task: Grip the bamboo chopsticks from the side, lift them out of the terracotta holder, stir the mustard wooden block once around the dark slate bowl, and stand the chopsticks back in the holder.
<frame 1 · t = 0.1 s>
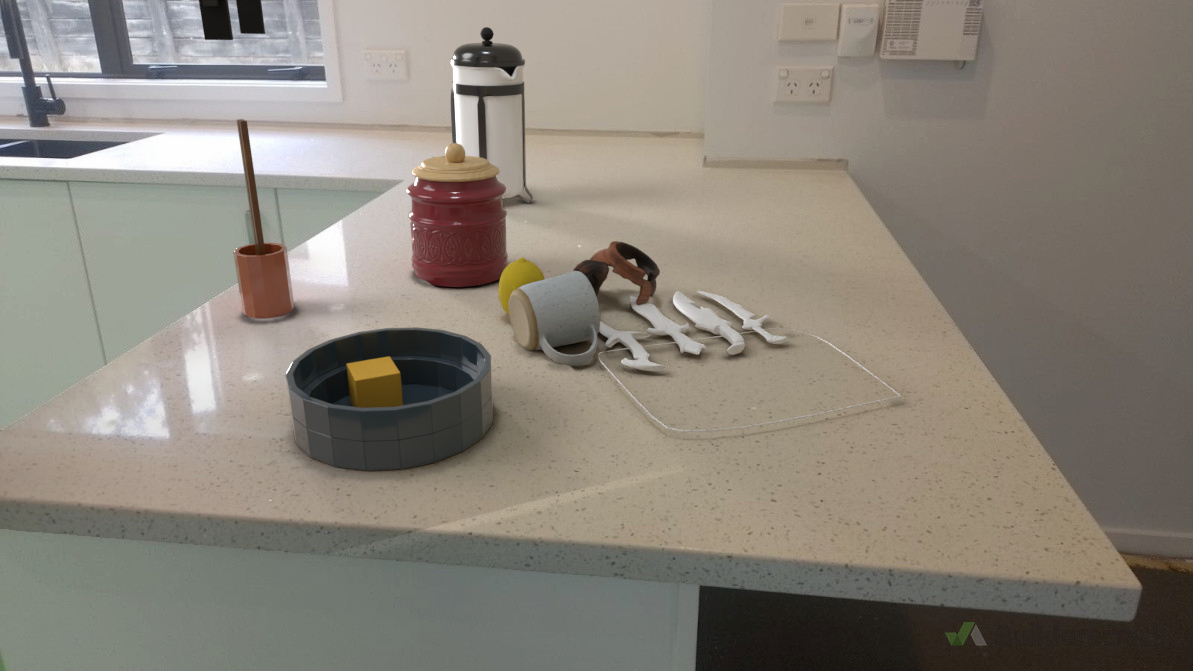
hand: (237, 36, 96), 31 cm above the worktop, tool pointing down, fingers open, 13 cm apart
block: (376, 407, 77), point 1 cm above the worktop, touching bowl
broken clay pot: (610, 302, 105), on the worktop, touching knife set
chopsticks: (268, 309, 100), point 1 cm above the worktop, touching holder
bowl: (396, 425, 75), on the worktop
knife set: (710, 352, 91), on the worktop, touching ceramic mug, broken clay pot
lemon: (523, 324, 98), on the worktop
holder: (269, 314, 100), on the worktop
ceramic mug: (562, 349, 91), on the worktop, touching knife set
coffee press: (486, 200, 155), on the worktop
kitchen canister: (461, 274, 115), on the worktop
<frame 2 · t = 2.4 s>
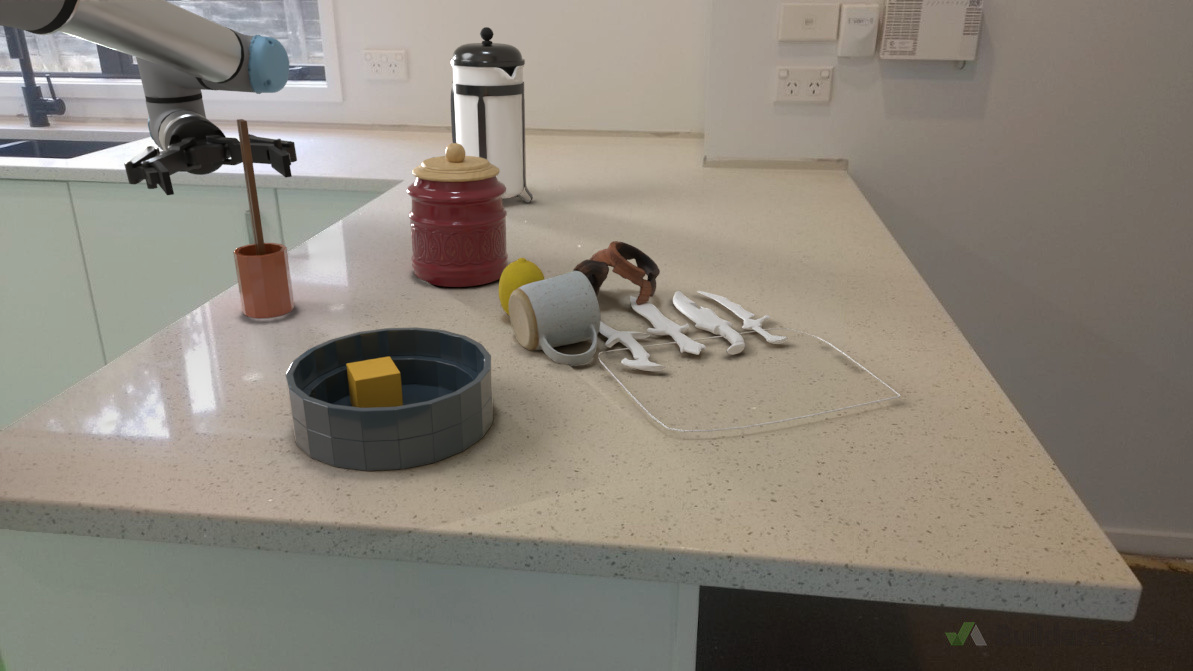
hand: (229, 174, 101), 15 cm above the worktop, tool horizontal, fingers open, 13 cm apart
nothing on the worktop moved.
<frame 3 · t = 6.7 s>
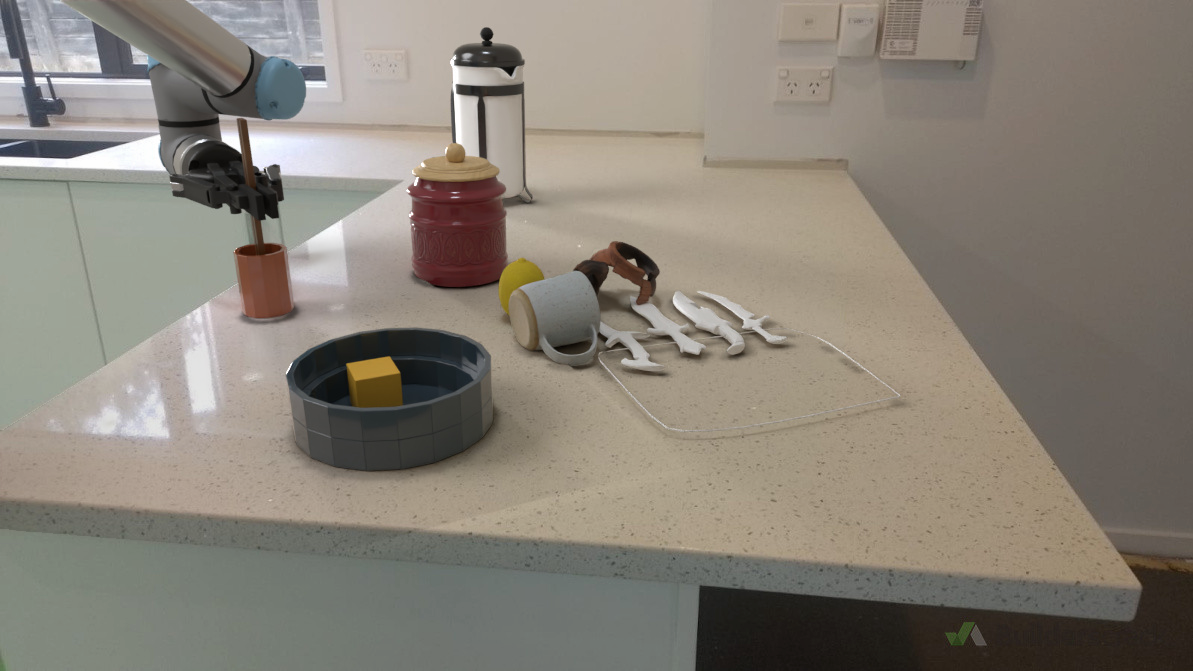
hand: (267, 207, 90), 14 cm above the worktop, tool horizontal, fingers closed on chopsticks, 1 cm apart
chopsticks: (268, 308, 99), point 1 cm above the worktop, touching gripper
everything else where it was.
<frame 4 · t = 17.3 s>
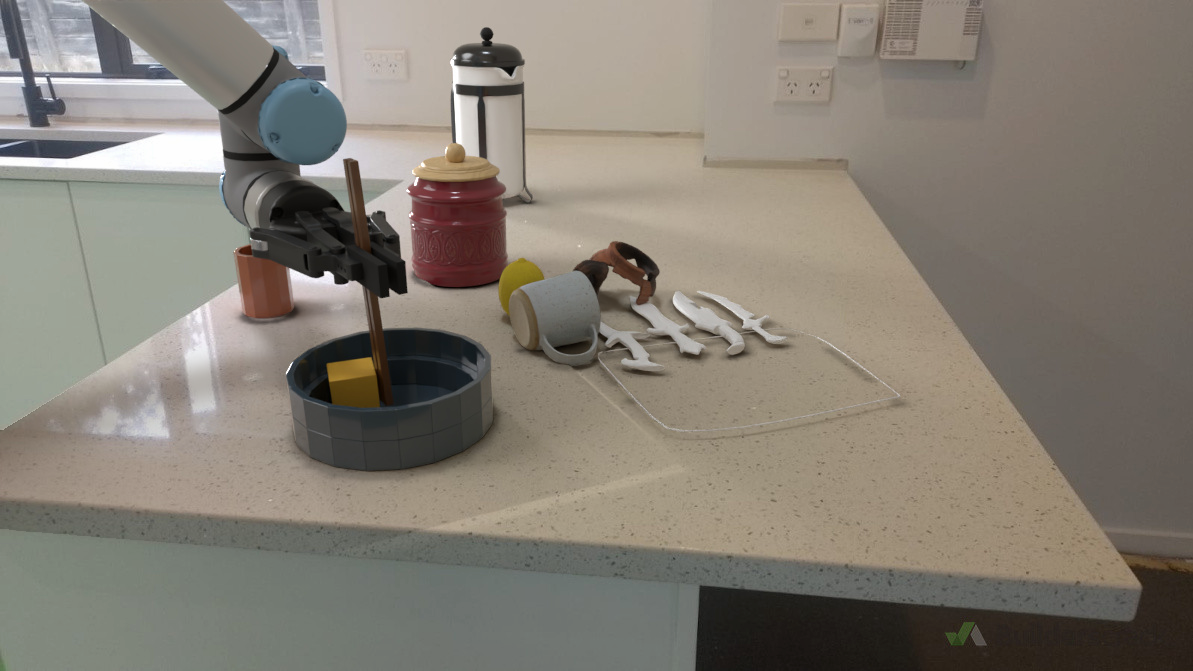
hand: (392, 279, 66), 15 cm above the worktop, tool horizontal, fingers closed on chopsticks, 1 cm apart
block: (356, 408, 76), point 1 cm above the worktop, touching bowl, chopsticks
chopsticks: (386, 402, 76), point 2 cm above the worktop, touching block, gripper
everything else where it was.
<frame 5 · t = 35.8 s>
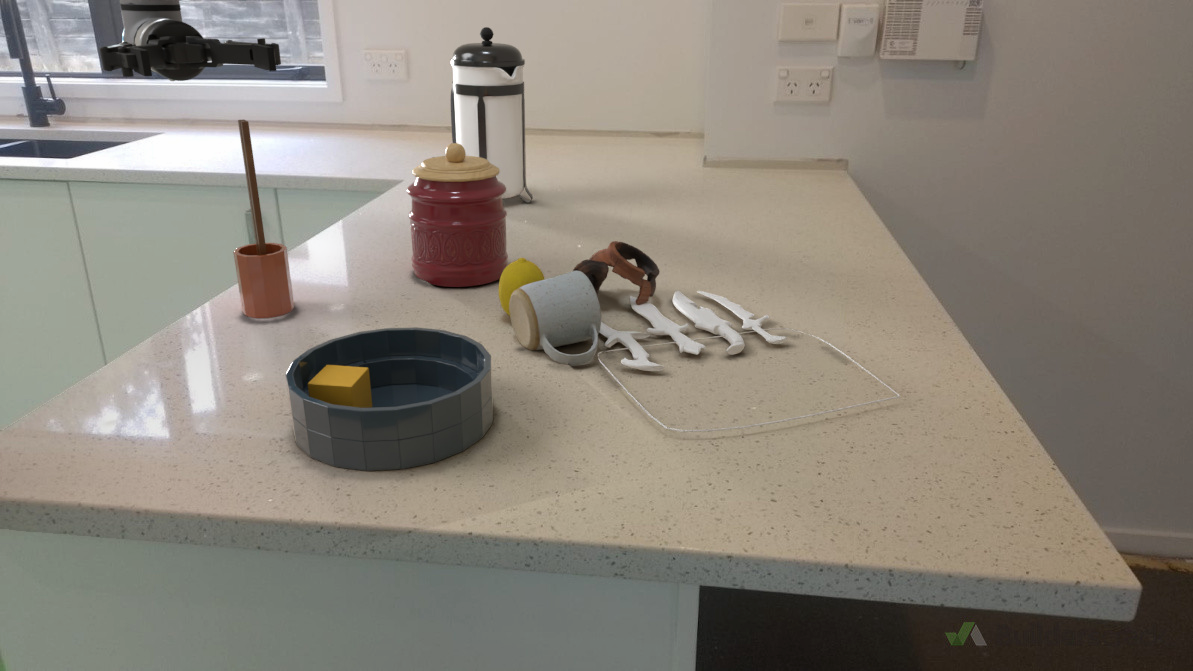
hand: (211, 61, 96), 28 cm above the worktop, tool horizontal, fingers open, 13 cm apart
block: (343, 415, 75), point 1 cm above the worktop, touching bowl
chopsticks: (270, 310, 99), point 1 cm above the worktop, touching holder
everything else where it was.
at the end: block moved 3.1 cm from its start; block inside the target area in the bowl (4.9 cm from its centre), point 0.6 cm above the bowl's base; chopsticks 0.4 cm off-centre in the holder, point 0.6 cm above the holder's base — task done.
